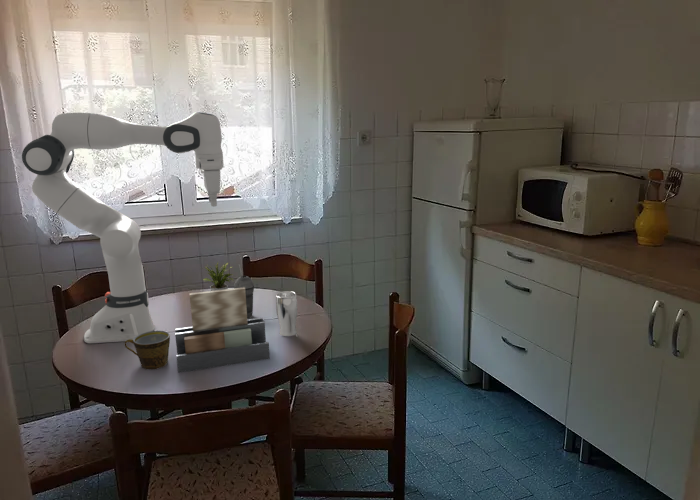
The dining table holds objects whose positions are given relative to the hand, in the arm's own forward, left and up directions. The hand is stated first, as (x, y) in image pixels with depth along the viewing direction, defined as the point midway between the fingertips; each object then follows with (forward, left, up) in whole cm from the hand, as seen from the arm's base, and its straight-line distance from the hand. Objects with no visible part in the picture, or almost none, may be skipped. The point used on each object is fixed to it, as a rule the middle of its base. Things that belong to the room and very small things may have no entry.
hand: (212, 204), depth 175 cm
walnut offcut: (-7, -34, -42) cm, 54 cm away
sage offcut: (+2, -31, -42) cm, 52 cm away
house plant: (0, +26, -44) cm, 51 cm away
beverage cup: (+9, +5, -44) cm, 45 cm away
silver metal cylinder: (+20, -19, -44) cm, 52 cm away
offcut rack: (-2, -30, -43) cm, 53 cm away
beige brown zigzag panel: (-2, -28, -42) cm, 50 cm away
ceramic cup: (-23, -28, -44) cm, 57 cm away
